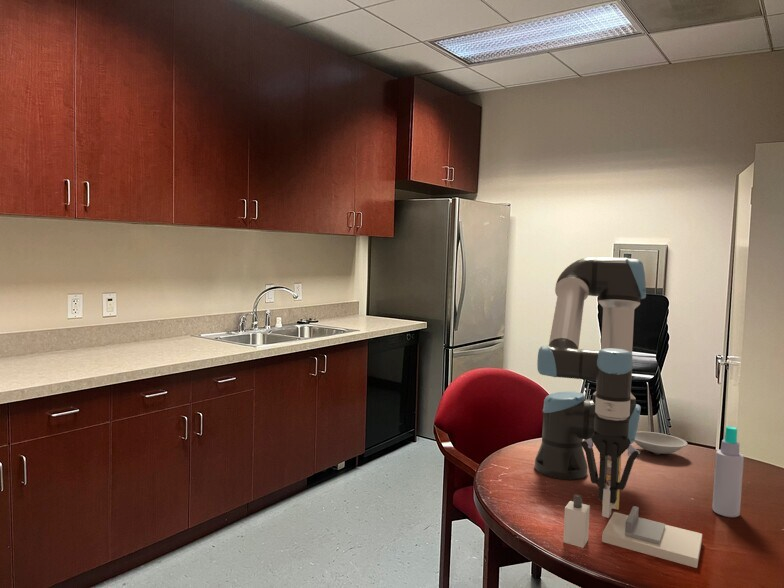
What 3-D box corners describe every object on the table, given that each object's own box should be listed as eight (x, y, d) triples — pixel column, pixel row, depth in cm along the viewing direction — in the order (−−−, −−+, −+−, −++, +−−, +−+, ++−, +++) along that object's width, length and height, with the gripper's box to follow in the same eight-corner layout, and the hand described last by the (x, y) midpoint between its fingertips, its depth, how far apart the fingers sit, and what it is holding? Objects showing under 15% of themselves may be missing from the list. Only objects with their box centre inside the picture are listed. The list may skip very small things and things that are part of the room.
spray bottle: (711, 513, 144) (716, 428, 143) (713, 505, 149) (718, 422, 148) (738, 520, 141) (745, 433, 139) (740, 511, 146) (746, 427, 144)
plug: (563, 542, 128) (565, 497, 127) (568, 534, 132) (570, 490, 131) (583, 548, 126) (585, 502, 125) (588, 539, 129) (590, 495, 128)
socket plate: (601, 541, 128) (602, 533, 128) (613, 519, 139) (614, 511, 139) (697, 568, 118) (697, 558, 118) (701, 542, 129) (702, 533, 129)
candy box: (619, 510, 145) (622, 451, 144) (601, 508, 146) (604, 449, 145) (616, 496, 153) (619, 440, 152) (600, 494, 154) (602, 438, 153)
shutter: (624, 535, 127) (625, 521, 127) (632, 519, 135) (633, 505, 135) (659, 544, 124) (660, 530, 123) (664, 527, 132) (665, 513, 132)
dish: (624, 454, 187) (624, 439, 187) (632, 442, 199) (632, 428, 199) (684, 465, 177) (685, 450, 177) (688, 452, 190) (689, 438, 189)
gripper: (579, 414, 133) (574, 513, 134) (639, 424, 126) (633, 528, 127) (587, 407, 139) (582, 502, 140) (644, 417, 132) (639, 516, 133)
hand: (606, 514), depth 134 cm, fingers closed
